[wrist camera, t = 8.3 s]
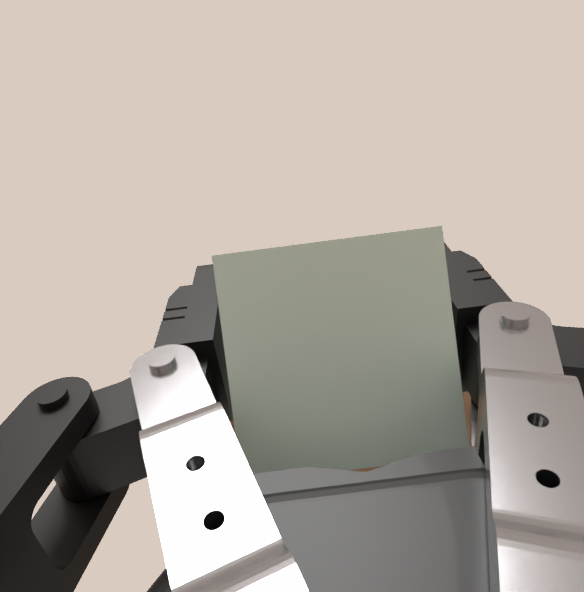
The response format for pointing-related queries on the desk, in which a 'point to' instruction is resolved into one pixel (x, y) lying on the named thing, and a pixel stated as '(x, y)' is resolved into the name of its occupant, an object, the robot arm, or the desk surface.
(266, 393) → the sage block
